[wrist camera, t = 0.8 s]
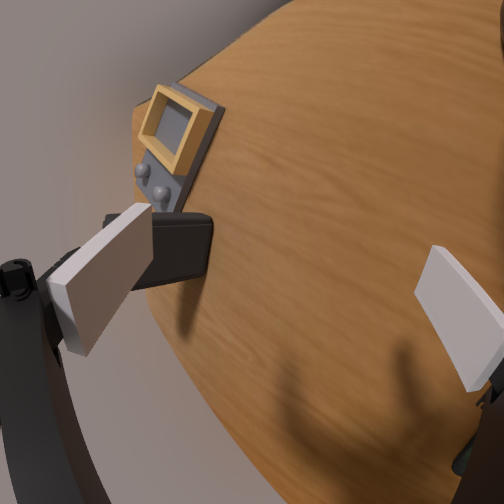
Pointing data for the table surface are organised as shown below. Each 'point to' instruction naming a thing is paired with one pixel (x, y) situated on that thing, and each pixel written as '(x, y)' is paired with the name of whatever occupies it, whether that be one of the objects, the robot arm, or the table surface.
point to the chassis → (174, 144)
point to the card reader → (175, 247)
